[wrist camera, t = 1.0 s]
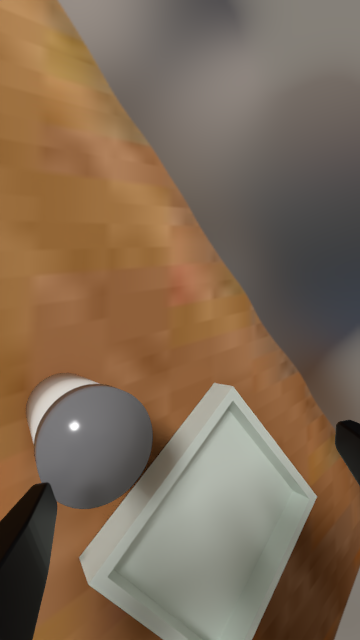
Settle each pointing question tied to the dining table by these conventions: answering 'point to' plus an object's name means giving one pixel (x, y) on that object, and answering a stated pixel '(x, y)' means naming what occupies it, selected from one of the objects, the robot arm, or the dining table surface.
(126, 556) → the tray
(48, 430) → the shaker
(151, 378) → the dining table surface
